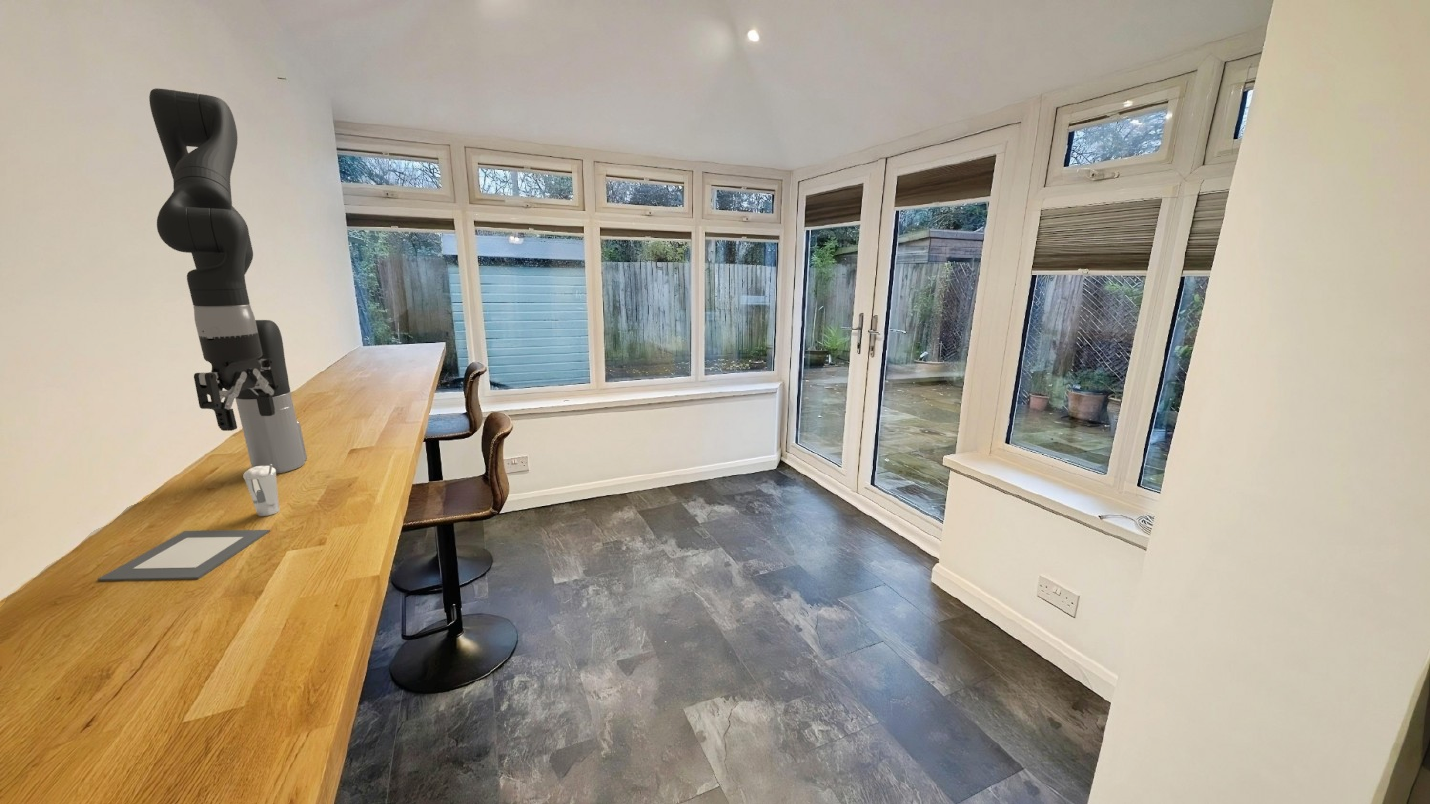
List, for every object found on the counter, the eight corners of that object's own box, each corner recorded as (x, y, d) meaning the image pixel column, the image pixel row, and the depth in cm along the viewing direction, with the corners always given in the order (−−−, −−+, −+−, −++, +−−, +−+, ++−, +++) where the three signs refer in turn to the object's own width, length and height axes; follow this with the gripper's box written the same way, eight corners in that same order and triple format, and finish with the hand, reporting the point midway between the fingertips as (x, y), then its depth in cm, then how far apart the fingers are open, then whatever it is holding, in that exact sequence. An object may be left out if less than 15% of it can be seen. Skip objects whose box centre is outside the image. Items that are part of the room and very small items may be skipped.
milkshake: (269, 520, 94) (258, 469, 92) (246, 516, 95) (234, 466, 93) (294, 508, 99) (283, 460, 96) (271, 505, 100) (260, 457, 97)
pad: (185, 532, 90) (184, 530, 90) (270, 531, 91) (269, 529, 91) (97, 580, 76) (97, 578, 76) (198, 579, 77) (198, 576, 77)
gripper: (239, 326, 95) (258, 411, 99) (164, 337, 81) (190, 435, 85) (282, 327, 95) (299, 411, 99) (215, 338, 81) (238, 435, 86)
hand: (249, 422), depth 92 cm, fingers open, 8 cm apart
